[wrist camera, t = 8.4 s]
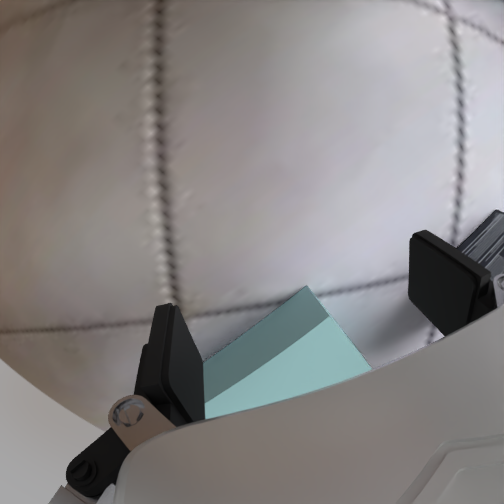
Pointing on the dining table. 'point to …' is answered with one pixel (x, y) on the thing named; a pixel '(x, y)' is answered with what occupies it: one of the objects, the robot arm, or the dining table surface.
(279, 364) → the teal block
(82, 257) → the dining table surface
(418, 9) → the dining table surface
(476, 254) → the small box
